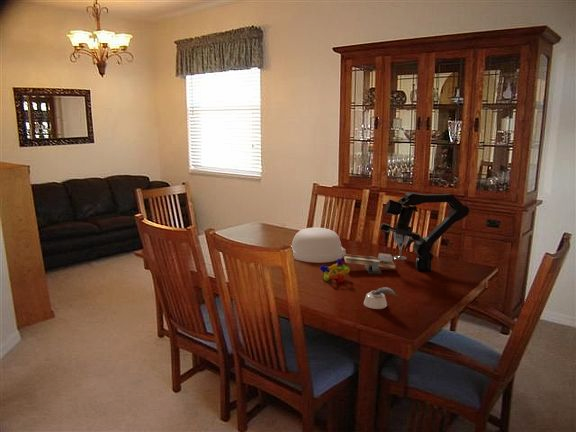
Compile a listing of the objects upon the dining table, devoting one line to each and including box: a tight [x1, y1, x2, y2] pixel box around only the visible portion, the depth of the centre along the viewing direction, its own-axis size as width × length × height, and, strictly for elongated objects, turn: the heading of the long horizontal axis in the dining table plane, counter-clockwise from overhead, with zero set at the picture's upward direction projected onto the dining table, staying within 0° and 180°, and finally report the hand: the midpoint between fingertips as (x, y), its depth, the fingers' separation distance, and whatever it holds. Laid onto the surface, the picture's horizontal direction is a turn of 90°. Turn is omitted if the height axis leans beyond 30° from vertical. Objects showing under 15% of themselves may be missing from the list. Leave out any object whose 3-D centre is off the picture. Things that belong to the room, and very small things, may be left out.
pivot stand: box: [364, 255, 382, 275], centre depth 222 cm, size 6×11×6 cm, turn 0°
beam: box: [343, 253, 397, 269], centre depth 222 cm, size 24×7×3 cm, turn 90°
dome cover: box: [290, 227, 347, 264], centre depth 248 cm, size 32×30×14 cm
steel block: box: [377, 252, 394, 263], centre depth 222 cm, size 6×4×4 cm
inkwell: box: [363, 286, 398, 310], centre depth 177 cm, size 9×18×10 cm, turn 27°
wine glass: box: [392, 232, 409, 261], centre depth 241 cm, size 8×8×15 cm
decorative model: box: [319, 258, 351, 284], centre depth 209 cm, size 13×9×15 cm
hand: (394, 248), depth 221 cm, fingers open, 9 cm apart
